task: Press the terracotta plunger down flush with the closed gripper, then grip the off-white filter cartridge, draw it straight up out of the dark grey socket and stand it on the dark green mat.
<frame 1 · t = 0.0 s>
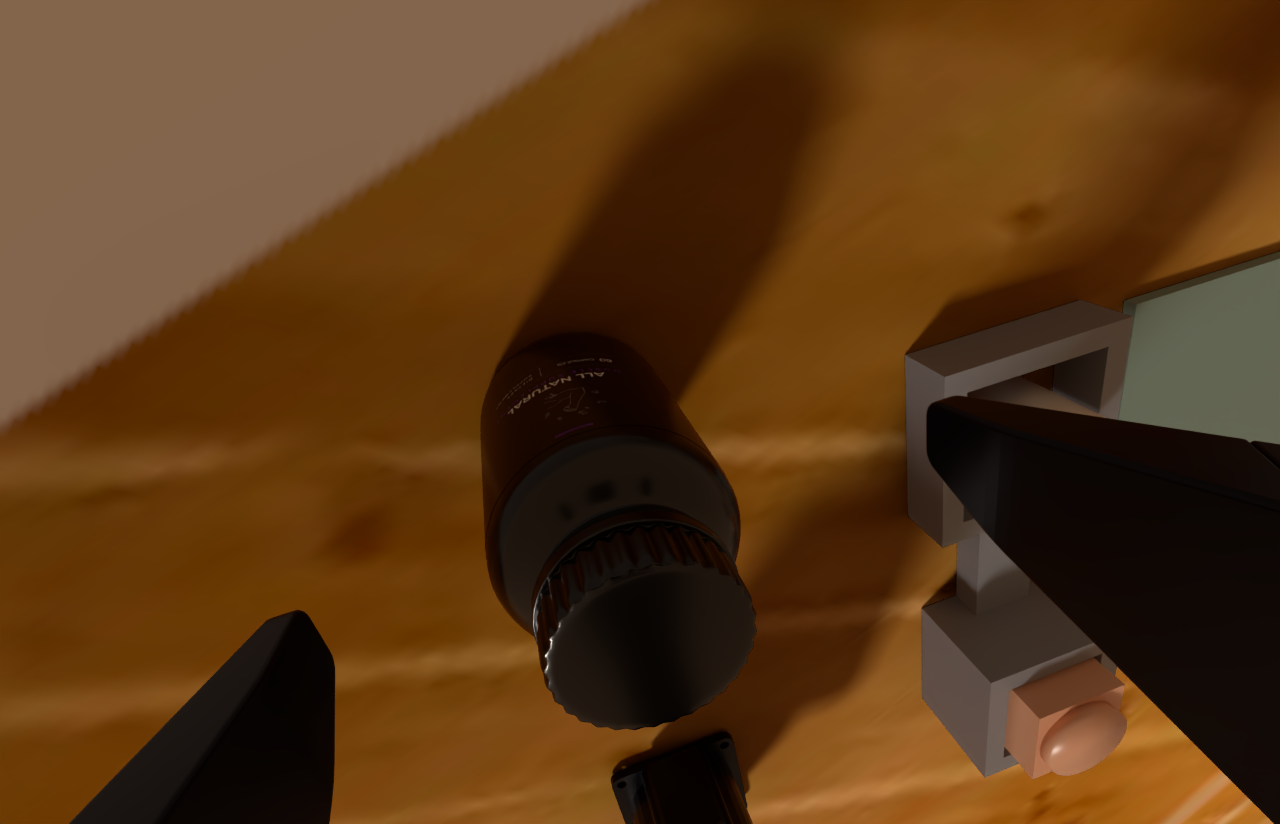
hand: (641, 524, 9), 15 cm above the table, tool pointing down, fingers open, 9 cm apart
filter cartridge: (989, 412, 30), resting in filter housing
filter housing: (990, 413, 30), on the table
green mat: (1217, 388, 33), on the table
supplement bottle: (570, 412, 25), on the table
plunger: (1040, 695, 32), point 4 cm above the table, slide at 0.0 cm
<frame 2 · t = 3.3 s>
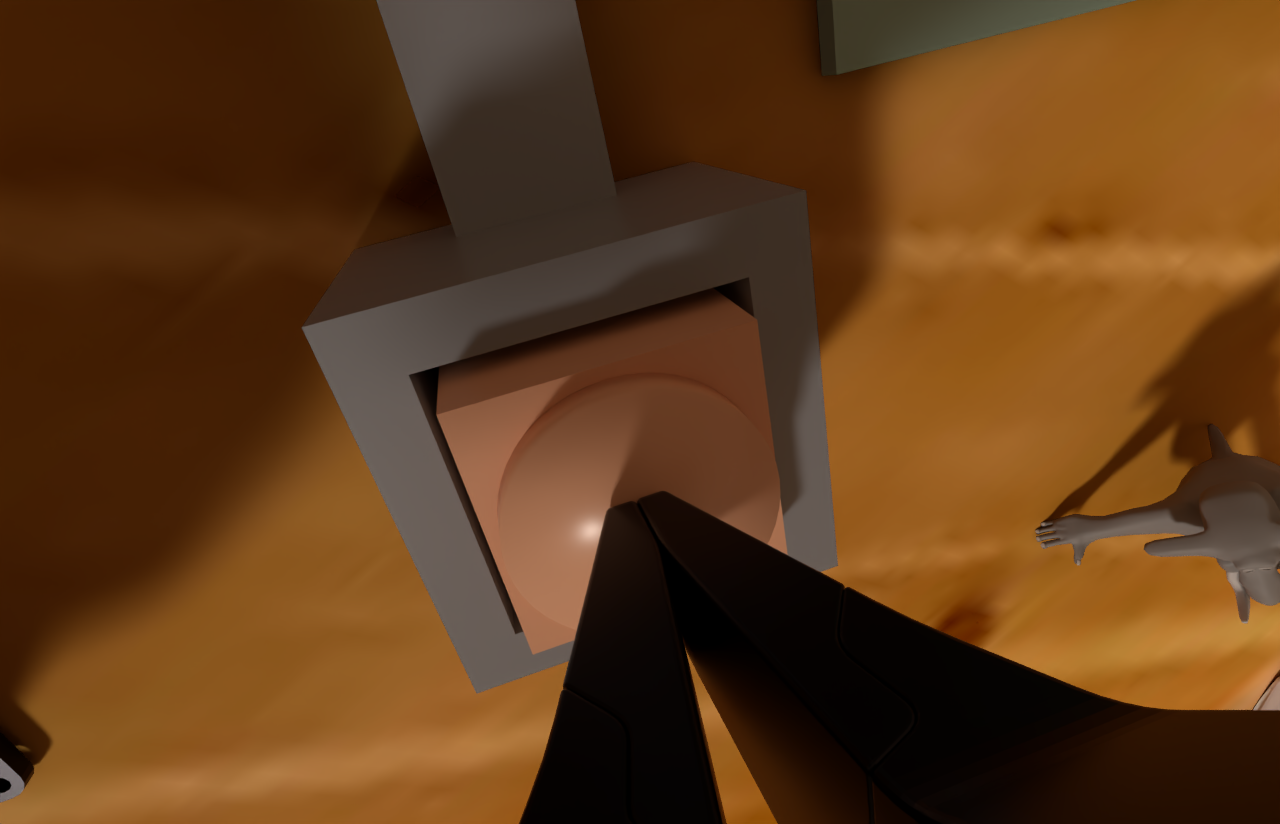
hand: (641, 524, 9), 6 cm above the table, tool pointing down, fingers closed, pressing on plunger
elephant figurine: (1161, 453, 22), on the table
plunger: (606, 433, 12), point 4 cm above the table, slide at 0.6 cm, touching gripper
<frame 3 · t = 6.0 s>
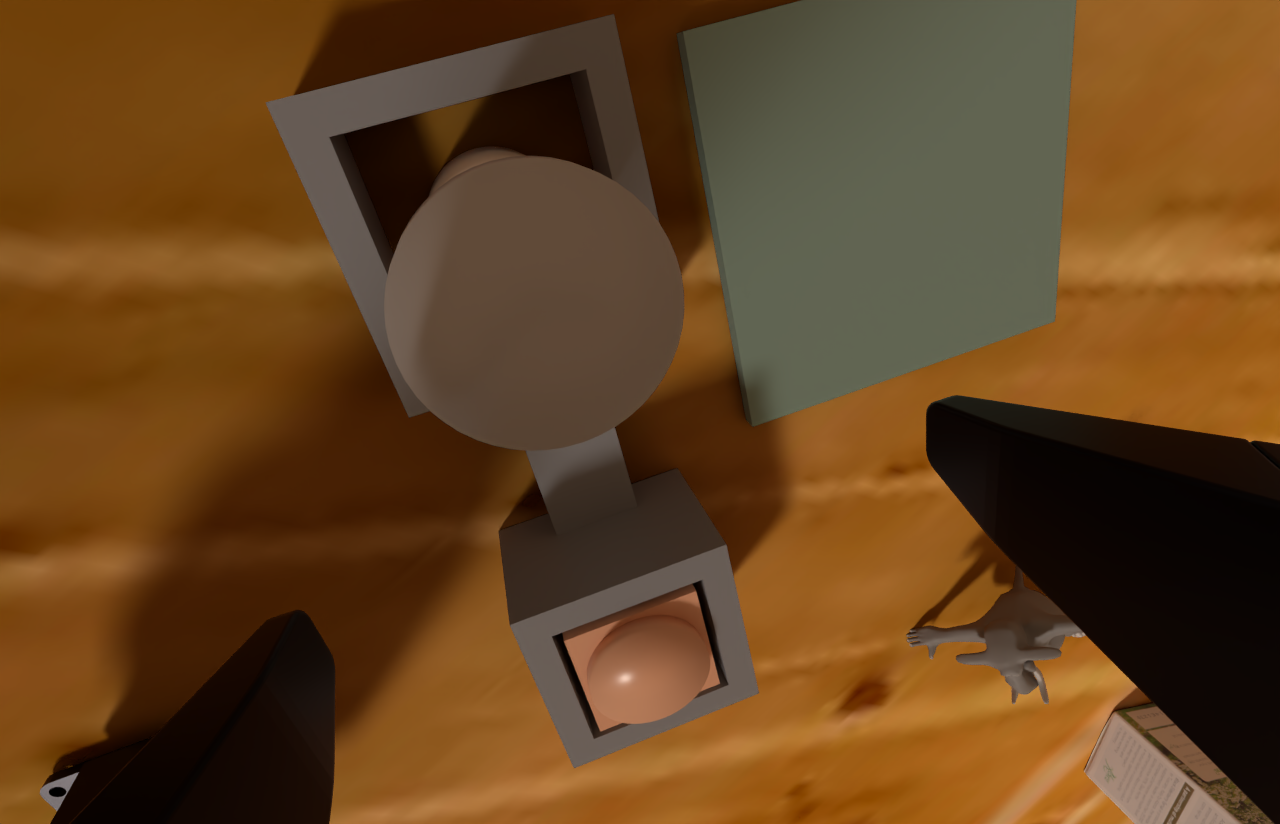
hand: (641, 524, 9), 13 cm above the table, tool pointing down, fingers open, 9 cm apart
elephant figurine: (989, 579, 33), on the table
filter cartridge: (497, 218, 20), resting in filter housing
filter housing: (497, 218, 20), on the table
syrup box: (1127, 730, 42), on the table
green mat: (890, 199, 23), on the table
plunger: (630, 618, 24), point 3 cm above the table, slide at 1.4 cm
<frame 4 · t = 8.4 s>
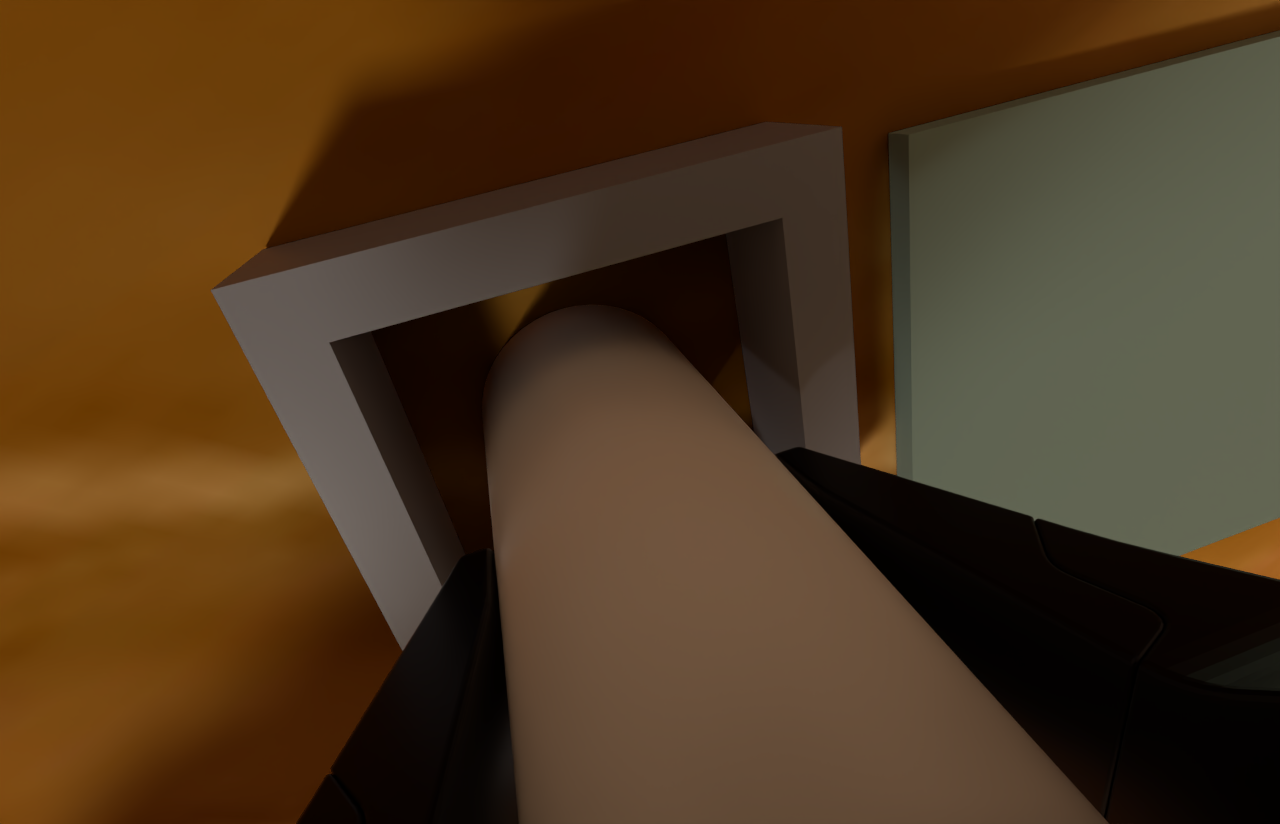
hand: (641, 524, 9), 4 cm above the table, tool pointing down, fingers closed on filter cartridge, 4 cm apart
filter cartridge: (588, 406, 13), resting in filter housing, touching gripper
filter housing: (589, 406, 13), on the table
green mat: (1140, 357, 16), on the table
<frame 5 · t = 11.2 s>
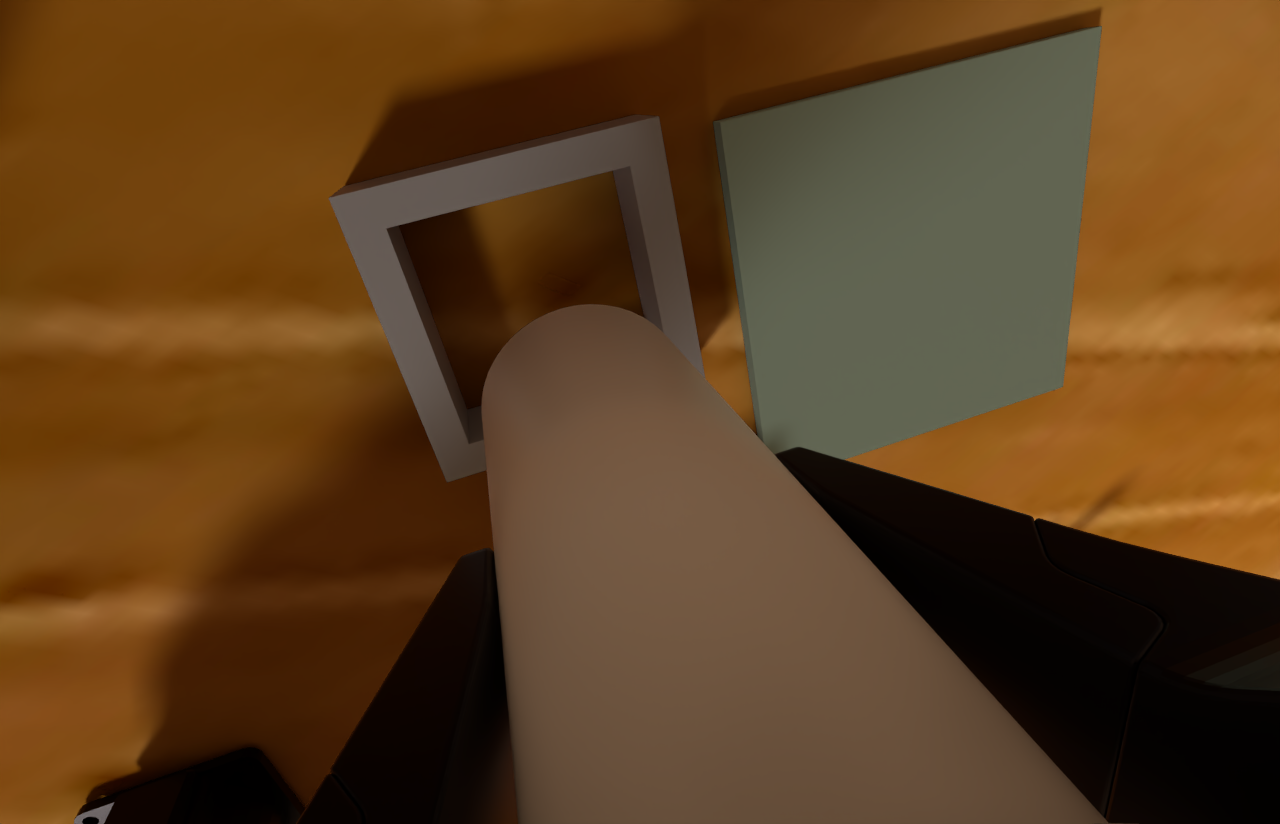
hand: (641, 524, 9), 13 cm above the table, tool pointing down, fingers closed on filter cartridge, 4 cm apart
filter cartridge: (588, 405, 13), point 9 cm above the table, touching gripper
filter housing: (535, 290, 21), on the table
green mat: (909, 272, 24), on the table
when the fingers open (6 cm above the table, at t = 14.4 s): filter cartridge stays where it is, resting on green mat.
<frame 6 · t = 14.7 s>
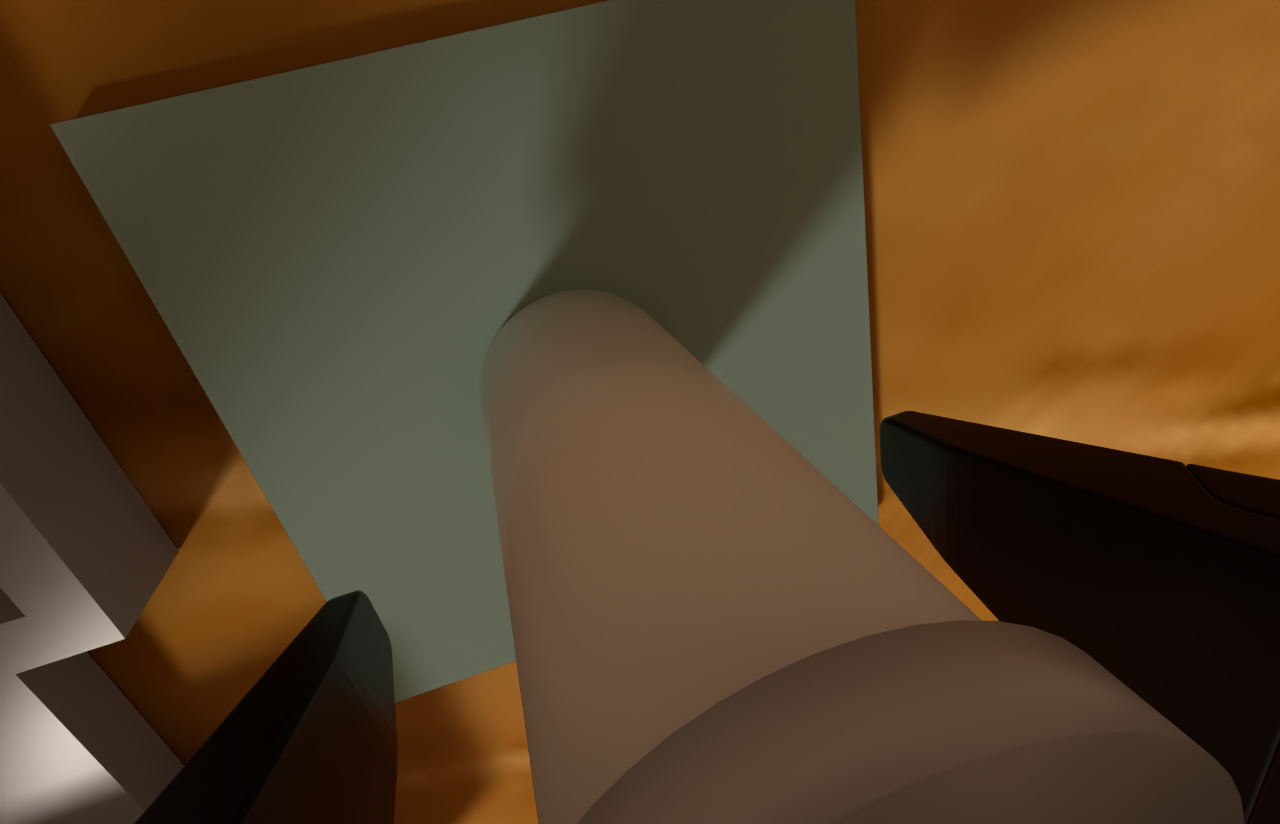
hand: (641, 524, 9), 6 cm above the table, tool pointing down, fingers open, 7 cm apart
filter cartridge: (580, 386, 13), point 1 cm above the table, touching green mat
green mat: (577, 376, 14), on the table
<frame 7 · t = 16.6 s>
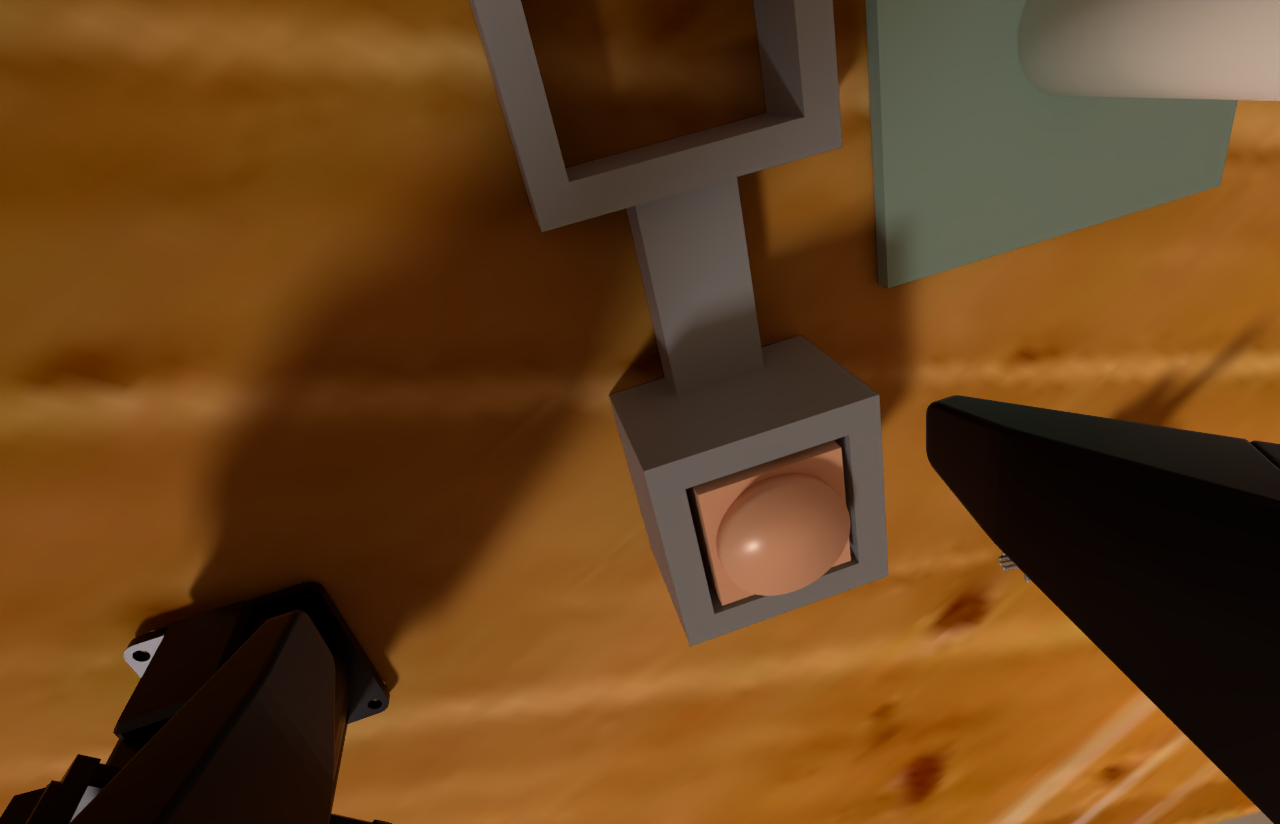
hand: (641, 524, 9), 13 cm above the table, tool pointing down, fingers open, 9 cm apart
filter cartridge: (1077, 21, 20), point 1 cm above the table, touching green mat
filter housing: (639, 15, 17), on the table
green mat: (1062, 24, 20), on the table
plunger: (751, 490, 22), point 3 cm above the table, slide at 1.4 cm
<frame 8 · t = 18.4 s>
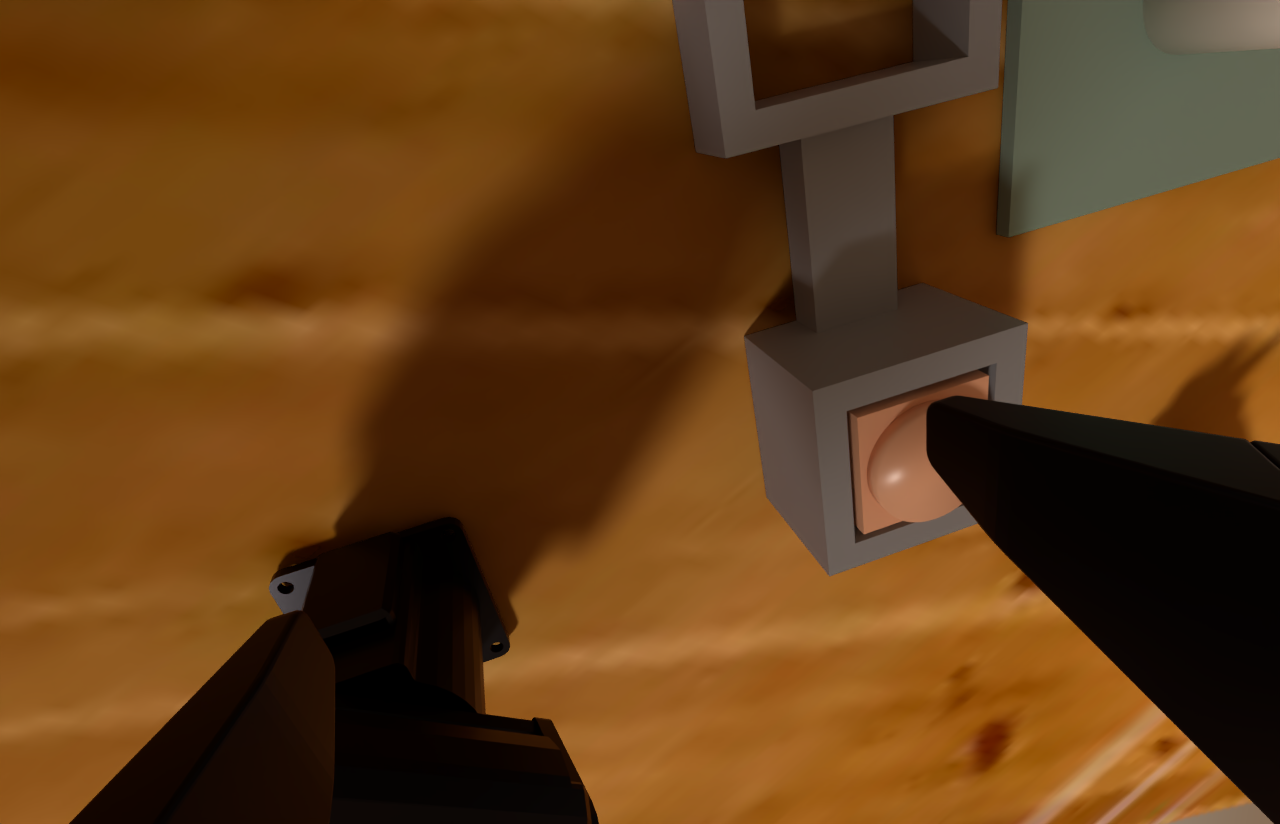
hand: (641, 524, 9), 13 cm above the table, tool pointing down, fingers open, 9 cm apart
plunger: (884, 427, 23), point 3 cm above the table, slide at 1.4 cm
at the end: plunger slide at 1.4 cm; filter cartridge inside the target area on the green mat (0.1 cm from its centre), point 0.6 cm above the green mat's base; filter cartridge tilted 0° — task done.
